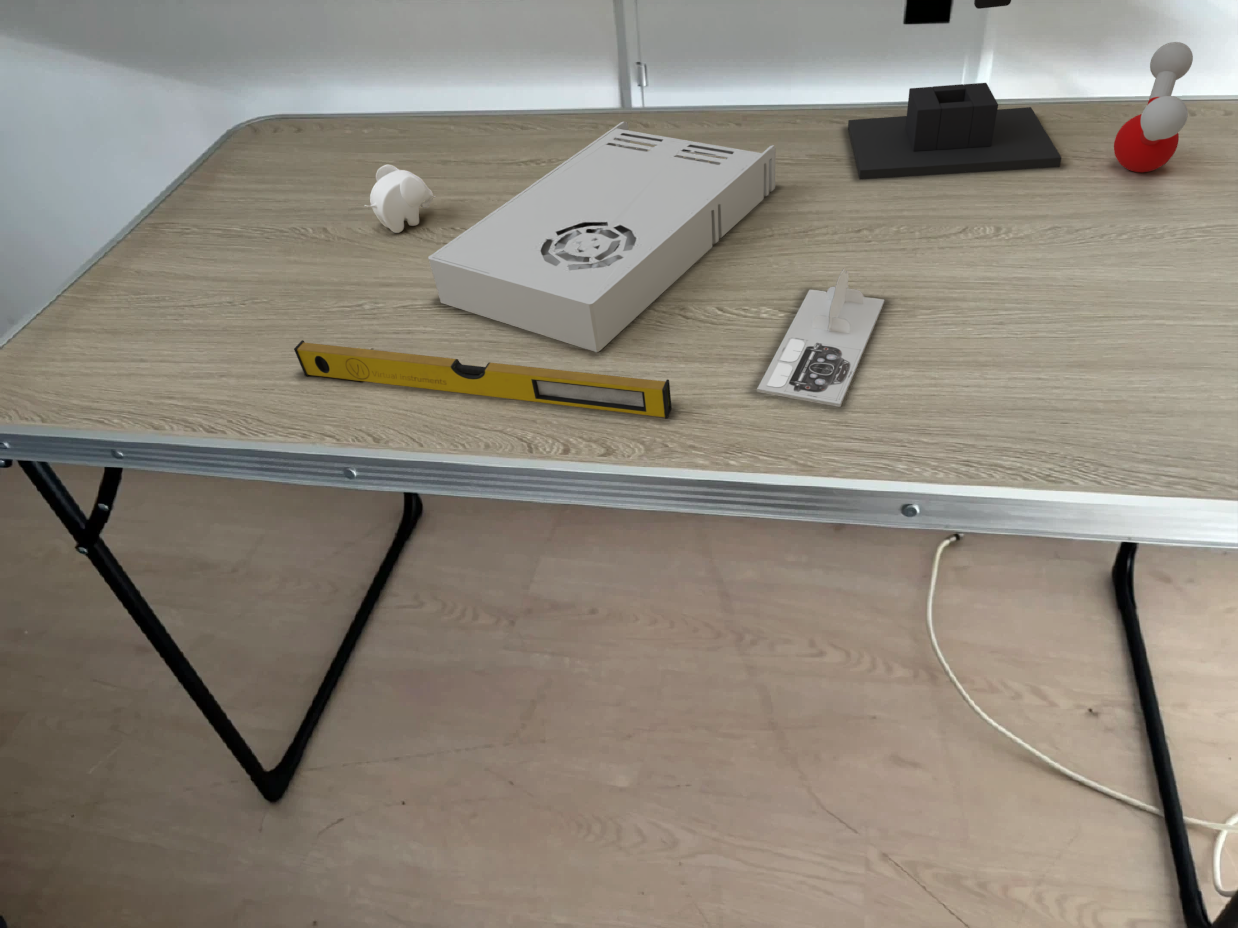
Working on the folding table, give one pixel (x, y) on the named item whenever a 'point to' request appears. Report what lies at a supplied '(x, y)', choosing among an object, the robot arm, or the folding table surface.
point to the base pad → (891, 154)
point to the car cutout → (823, 345)
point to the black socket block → (951, 117)
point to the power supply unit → (601, 235)
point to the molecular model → (1156, 114)
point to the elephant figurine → (398, 197)
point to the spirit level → (488, 379)
